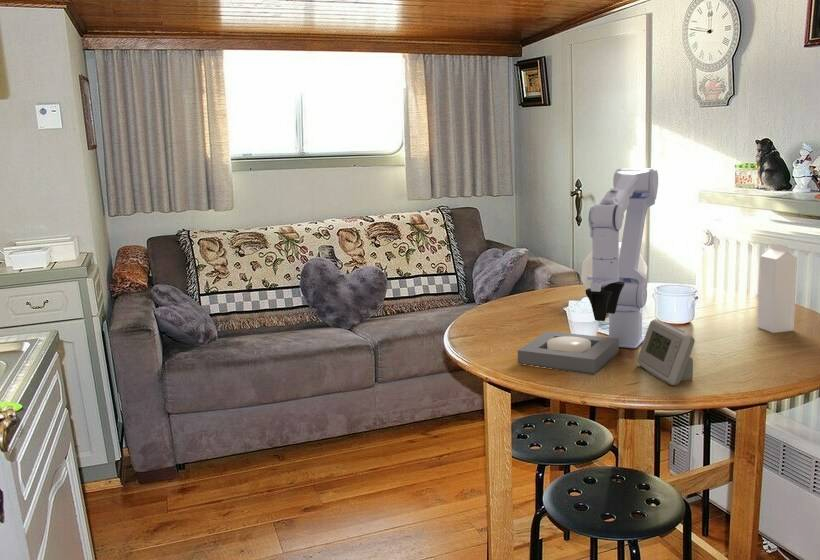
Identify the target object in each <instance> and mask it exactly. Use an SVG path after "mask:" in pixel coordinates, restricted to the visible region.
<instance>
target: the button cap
mask: <svg viewBox="0 0 820 560" xmlns="http://www.w3.org/2000/svg"><path fill="white" fill-rule="evenodd" d="M590 348H591V341H590V340H588V339H585V338H581V337H571V336H565V337H556V338H552V339H550V340H548V341H547V349H551V350H560V351H568V352H577V353H585V352H586V351H588V350H589V349H590Z"/></svg>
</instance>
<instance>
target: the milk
mask: <svg viewBox="0 0 820 560" xmlns="http://www.w3.org/2000/svg"><path fill="white" fill-rule="evenodd" d="M759 260H760V261H759V281H758V305H757V307H758V308H757V329H761V330H764V331H766V332H769V333H772V334H777V333H785V332H786V333H787V332H793V331H794V328H795V327H794V325H795V308H796V307H795V306H796V287H797V286H796V285H797V271H798V257H797V256H795V255H794V254H792V253H791V252H788V245H785V244H782V243H781V244H780V243H775V242H771V244H770V248H769V249H767V251H766V252H764V253H762V254H761V255H760V259H759Z"/></svg>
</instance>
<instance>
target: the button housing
mask: <svg viewBox="0 0 820 560" xmlns="http://www.w3.org/2000/svg"><path fill="white" fill-rule="evenodd" d="M565 336H571V337H581V338H585V339H588V340H590V341H591V348H590V349H589V350H588V351H586V352H585V353H577V352H568V351H560V350H551V349H547V341H548V340H550V339H552V338H556V337H565ZM619 350H620V347H619V338H609V336H608V337H607V336H598V335H597V336H596V335H587V334H579V333H578V334H577V333H569V332H558V331H548V330H547V331H545V332H543V333H542V334H540V335H539V336H537V337H535V338H534V339H533V340H531V341H529V342H528V343H526V344H525V345H523V346H522V347H520V348H519V349H518V350H517V364H518V363H519V364H526V365H533V366H539V367H546V368H552V369H551V370H553V369H558V370H557V371H561V370H565V371H564V372H568V371H571V373H576V372H577V374H585V375H591V376H592V375H593V376H595V375H596V374H597V373H598V372H599V371H600V370H602V369H603V367H605V366H606V365H607V364H608V363H610V361H612V359H614V358H615V357H616V356H617V355H618V354H619V353H620V352H619Z"/></svg>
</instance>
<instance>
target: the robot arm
mask: <svg viewBox="0 0 820 560" xmlns="http://www.w3.org/2000/svg"><path fill="white" fill-rule="evenodd" d="M658 172H659V171H658V170H657V169H656V168H655V167H651V168H647V167H646V168H644V167H643V168H620V167H619V168H617V169H616V170H615V172H614V173H613V178H612V179H613V180H612V181H613V183H612V185H613V188H612V187H611V188H610V189H609V190H608V191H607V192H606V194H605V195H604V196H603V197H602V199H601V200H600V202H599V203H597V204H594V205H593V206H591V207H590V208H589V211H588V221H587V222H588V227H589V233H590V235H589V236H590V238H591V239H592V241H591V242H592V244H591V245H592V247H591V248H592V249H591V251H592V276H588V277H587V280H592V282H591V289H589V288H588V289H586V288H585V295H586V296H587V298H588V300H589V303H590V306H591V310H592V313H593V317H594V320H595V321H599V322H605V321H606V318H607V314H608V337H609V338H619V348H624V349H625V348H626V349H637V348H638V347H639V346H640V345H642V344H643V341H644V338H645V336H643V334H642V333H643V332H642V331H643V328H642V327H643V315H642V312H641V309H643V308H644V307H645V306H646V303H647V299H648V280H647V277H646V278H645V277H644V276H643V275H642V274H641V273H640V272H639V271H637V269H638V263H639V256H640V255H641V251H642V250H641V247H642V241H643V236H644V231H645V223H646V217H647V214H648V210H649V208H650V207H651V206H653V205H655V204H656V200H657V194H658V187H659V173H658ZM624 217H625V219H624ZM624 220H625V221H624ZM623 221H624V225H623ZM622 227H623V232H622V237H621V242H622V243H621V249H620V256H619V242H620V230H621V229H622Z"/></svg>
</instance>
